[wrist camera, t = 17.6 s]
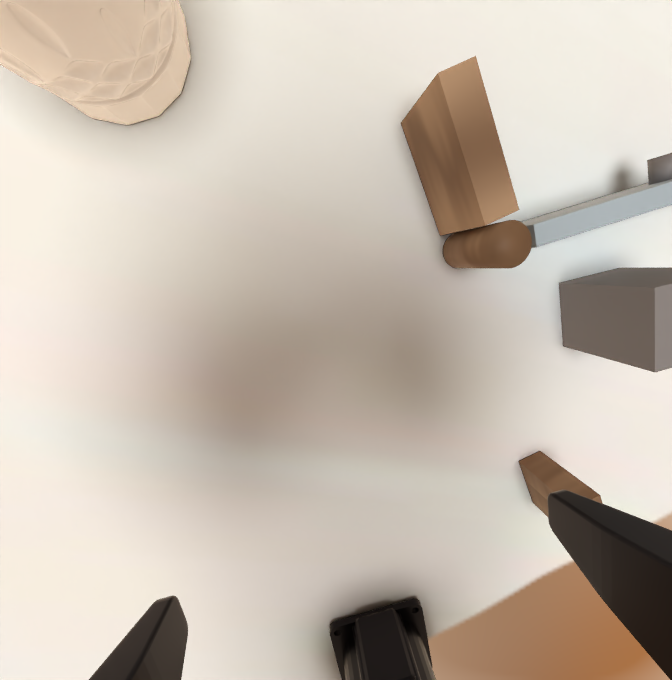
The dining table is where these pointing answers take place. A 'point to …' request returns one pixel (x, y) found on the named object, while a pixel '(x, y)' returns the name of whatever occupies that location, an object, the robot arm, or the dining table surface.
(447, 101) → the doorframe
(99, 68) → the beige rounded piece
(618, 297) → the block
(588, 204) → the door
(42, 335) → the dining table surface
